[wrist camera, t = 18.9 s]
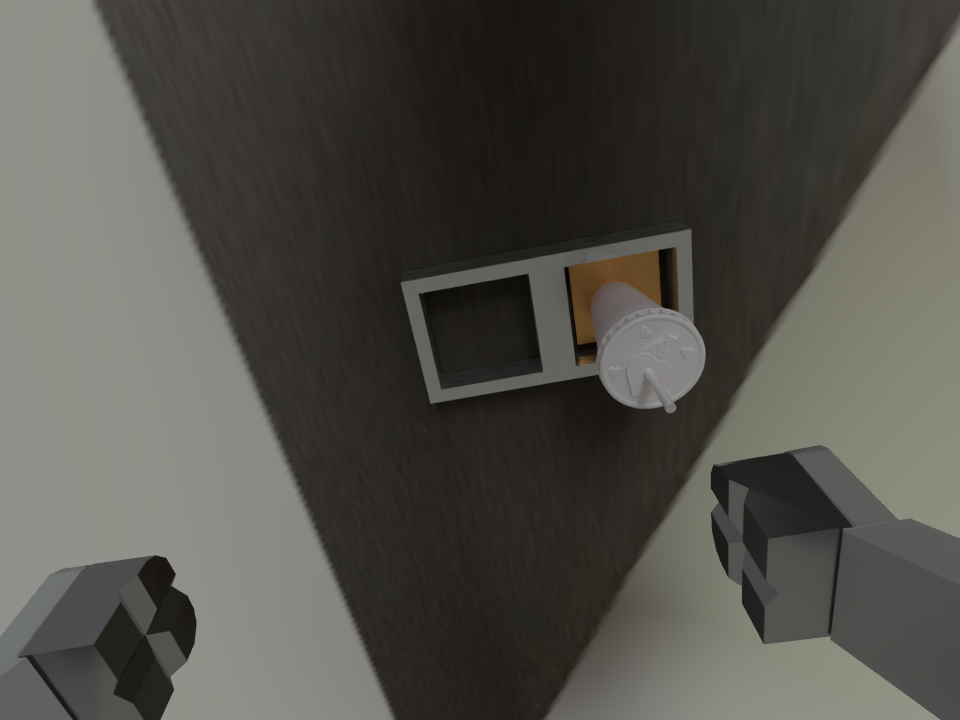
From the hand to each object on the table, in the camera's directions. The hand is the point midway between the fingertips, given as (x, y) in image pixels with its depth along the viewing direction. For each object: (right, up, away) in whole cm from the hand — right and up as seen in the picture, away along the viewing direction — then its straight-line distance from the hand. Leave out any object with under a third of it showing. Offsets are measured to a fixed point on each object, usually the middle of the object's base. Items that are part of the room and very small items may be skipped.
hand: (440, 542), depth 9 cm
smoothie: (+11, +7, +36) cm, 38 cm away
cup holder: (+6, +7, +36) cm, 37 cm away
